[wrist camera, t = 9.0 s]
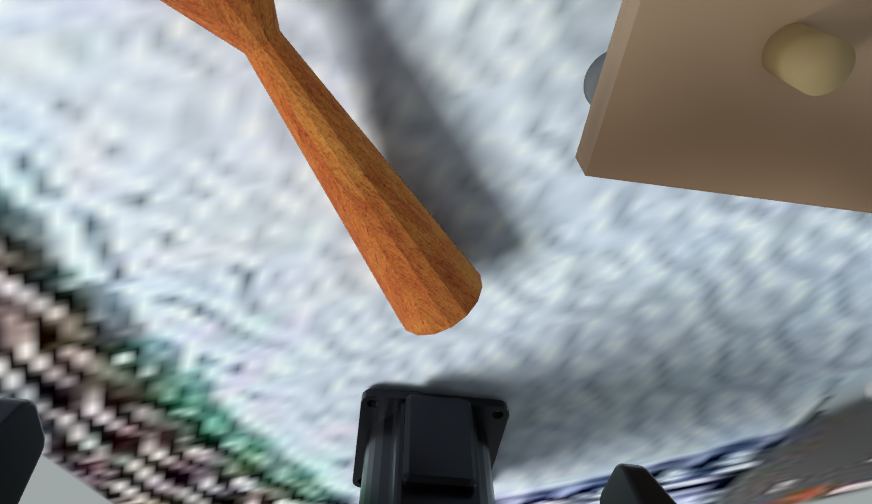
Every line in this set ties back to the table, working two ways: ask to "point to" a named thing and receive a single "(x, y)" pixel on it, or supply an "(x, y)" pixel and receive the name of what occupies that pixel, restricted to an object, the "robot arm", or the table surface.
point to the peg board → (736, 99)
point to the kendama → (351, 173)
